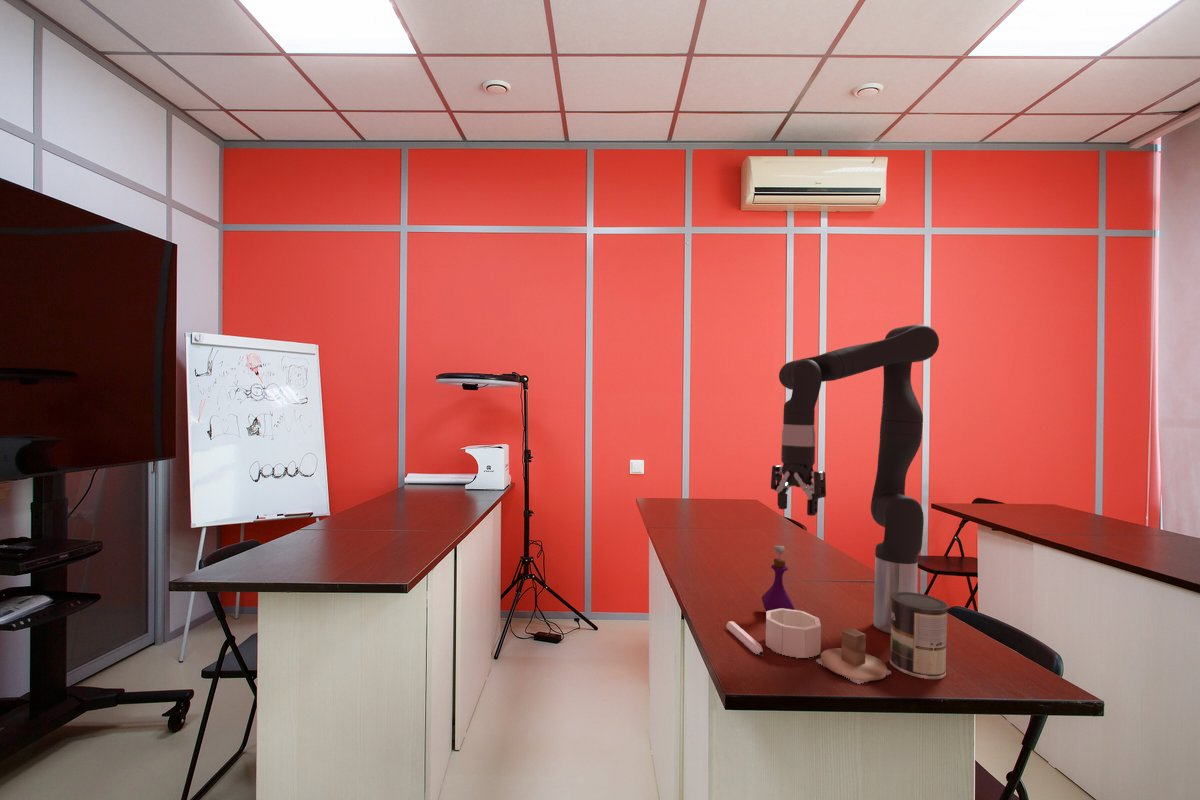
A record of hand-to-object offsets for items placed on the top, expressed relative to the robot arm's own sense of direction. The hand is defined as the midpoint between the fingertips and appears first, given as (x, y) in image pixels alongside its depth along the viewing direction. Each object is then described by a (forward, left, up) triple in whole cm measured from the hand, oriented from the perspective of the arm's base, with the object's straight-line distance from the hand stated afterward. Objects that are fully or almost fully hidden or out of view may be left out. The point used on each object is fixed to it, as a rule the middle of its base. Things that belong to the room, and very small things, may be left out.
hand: (796, 512), depth 128 cm
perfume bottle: (-5, -10, -29) cm, 32 cm away
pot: (+6, +5, -29) cm, 30 cm away
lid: (+2, +17, -28) cm, 33 cm away
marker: (+14, -1, -30) cm, 33 cm away
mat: (+2, +17, -29) cm, 34 cm away
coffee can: (-11, +23, -29) cm, 39 cm away
